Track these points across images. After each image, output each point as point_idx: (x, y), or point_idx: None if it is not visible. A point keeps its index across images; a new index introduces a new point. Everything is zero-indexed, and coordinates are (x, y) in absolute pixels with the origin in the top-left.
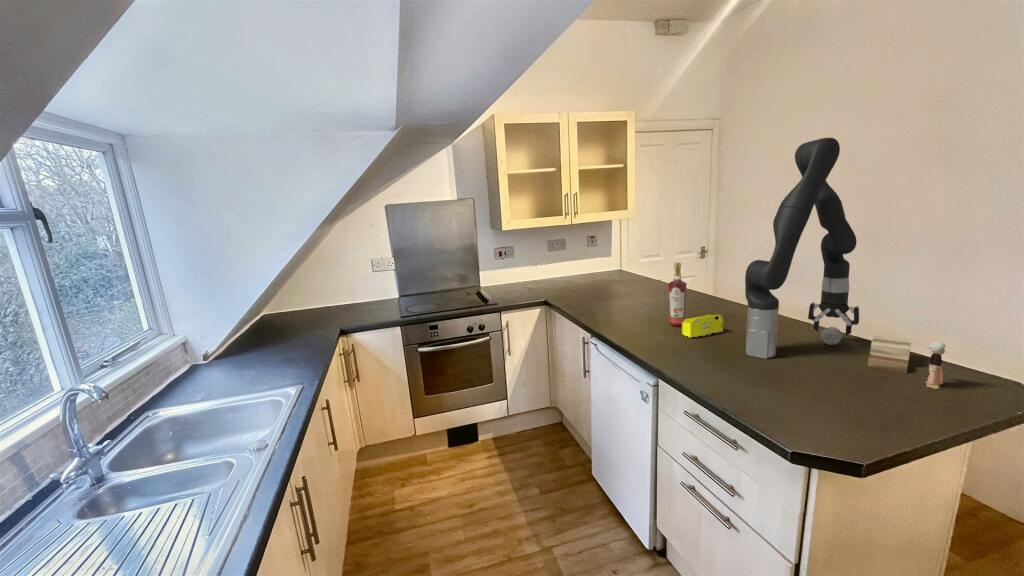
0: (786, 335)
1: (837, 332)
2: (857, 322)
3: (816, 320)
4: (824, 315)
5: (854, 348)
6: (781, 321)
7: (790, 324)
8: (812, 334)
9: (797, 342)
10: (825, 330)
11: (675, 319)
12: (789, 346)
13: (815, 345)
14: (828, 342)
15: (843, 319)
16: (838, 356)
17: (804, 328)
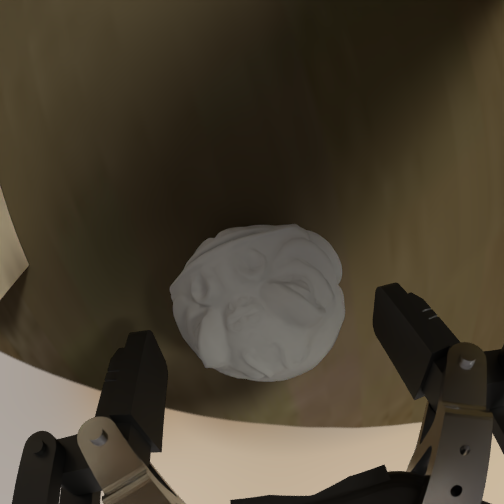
0: (476, 261)
1: (192, 294)
2: (28, 453)
3: (464, 356)
4: (436, 461)
5: (115, 279)
6: None
7: None
8: (372, 357)
9: (433, 169)
10: (324, 290)
11: None
12: (448, 58)
13: (333, 174)
14: (260, 225)
15: (141, 485)
16: (124, 30)
17: (401, 394)
